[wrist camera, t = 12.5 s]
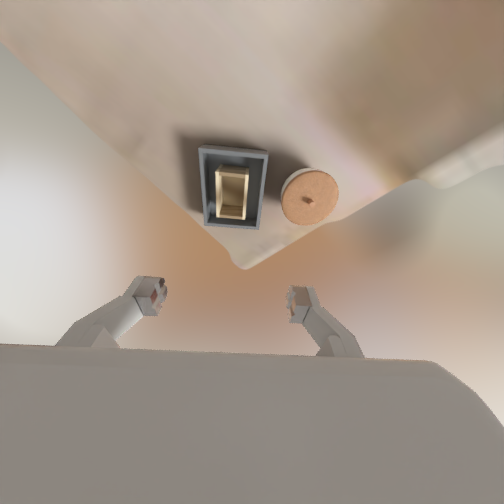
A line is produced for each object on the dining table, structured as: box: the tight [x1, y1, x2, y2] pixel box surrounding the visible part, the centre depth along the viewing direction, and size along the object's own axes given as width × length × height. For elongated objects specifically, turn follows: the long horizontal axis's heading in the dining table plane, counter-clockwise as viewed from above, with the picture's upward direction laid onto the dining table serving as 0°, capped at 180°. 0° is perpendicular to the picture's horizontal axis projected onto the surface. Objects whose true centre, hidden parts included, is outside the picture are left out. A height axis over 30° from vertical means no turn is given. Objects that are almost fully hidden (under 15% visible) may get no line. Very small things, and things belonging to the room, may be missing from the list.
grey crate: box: [198, 144, 268, 230], centre depth 38 cm, size 15×12×5 cm
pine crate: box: [215, 164, 249, 220], centre depth 37 cm, size 9×6×6 cm, turn 174°
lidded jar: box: [281, 168, 339, 225], centre depth 37 cm, size 11×11×9 cm
